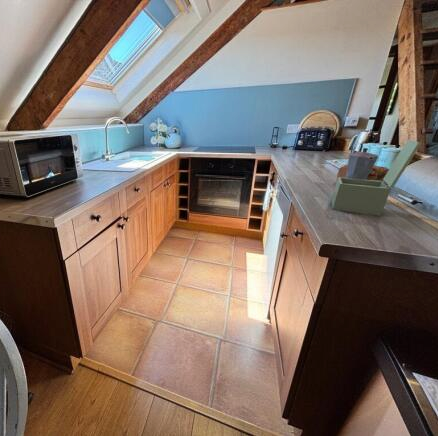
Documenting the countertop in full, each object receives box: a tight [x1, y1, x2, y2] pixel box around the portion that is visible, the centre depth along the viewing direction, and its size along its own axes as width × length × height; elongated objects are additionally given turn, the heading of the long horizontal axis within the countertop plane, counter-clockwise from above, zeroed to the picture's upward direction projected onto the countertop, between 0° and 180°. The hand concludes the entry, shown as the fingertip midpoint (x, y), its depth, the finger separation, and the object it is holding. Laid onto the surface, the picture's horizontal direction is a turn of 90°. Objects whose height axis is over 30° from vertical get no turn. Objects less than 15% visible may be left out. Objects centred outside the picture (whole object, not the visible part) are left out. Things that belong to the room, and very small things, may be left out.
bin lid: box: [383, 139, 422, 189], centre depth 81 cm, size 14×12×1 cm
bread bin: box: [331, 177, 392, 217], centre depth 90 cm, size 14×12×10 cm
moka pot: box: [345, 147, 379, 180], centre depth 103 cm, size 10×15×20 cm, turn 170°
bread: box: [335, 163, 390, 185], centre depth 119 cm, size 19×11×10 cm, turn 73°
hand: (435, 142), depth 75 cm, fingers closed
